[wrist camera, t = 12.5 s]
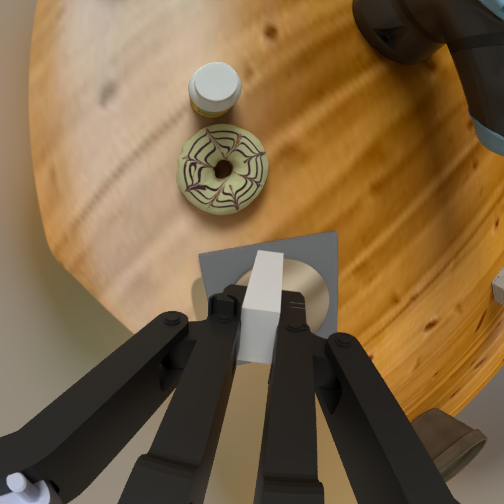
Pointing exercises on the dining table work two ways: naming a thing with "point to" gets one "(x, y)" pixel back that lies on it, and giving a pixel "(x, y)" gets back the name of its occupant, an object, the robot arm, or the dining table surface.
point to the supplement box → (499, 287)
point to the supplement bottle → (214, 89)
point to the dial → (302, 289)
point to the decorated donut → (205, 159)
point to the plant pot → (448, 441)
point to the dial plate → (300, 248)
